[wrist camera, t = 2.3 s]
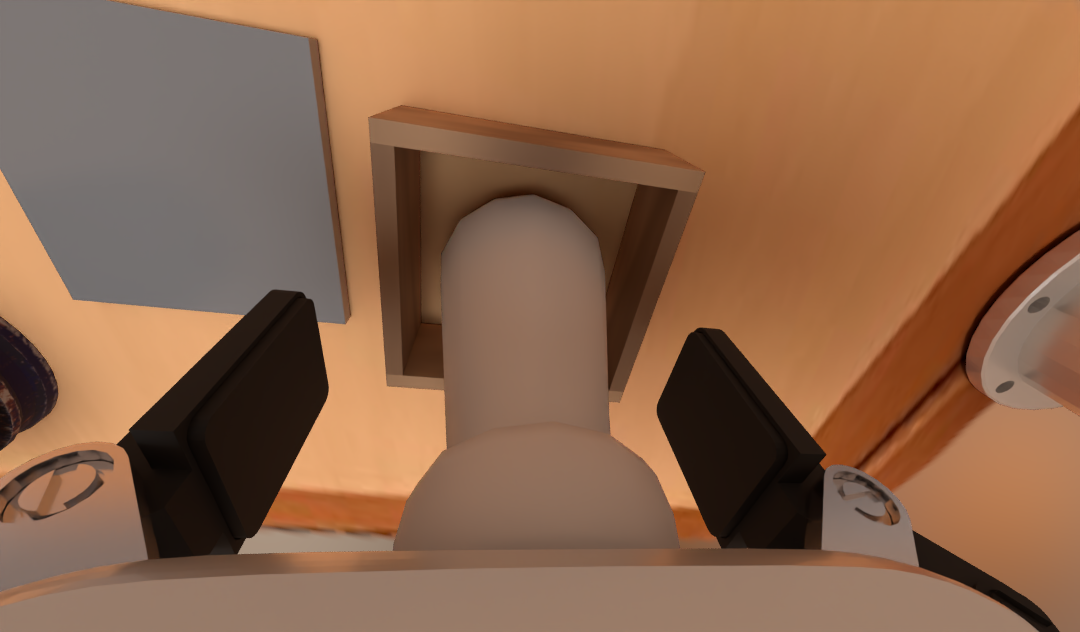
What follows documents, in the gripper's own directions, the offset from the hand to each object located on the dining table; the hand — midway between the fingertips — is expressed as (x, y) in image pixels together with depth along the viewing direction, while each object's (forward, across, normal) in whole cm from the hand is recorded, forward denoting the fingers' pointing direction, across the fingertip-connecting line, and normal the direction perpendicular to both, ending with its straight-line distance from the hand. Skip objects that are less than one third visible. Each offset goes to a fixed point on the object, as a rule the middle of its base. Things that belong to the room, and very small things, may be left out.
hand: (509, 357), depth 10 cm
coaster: (+7, +11, -1) cm, 13 cm away
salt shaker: (+7, -1, 0) cm, 7 cm away
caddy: (+7, -1, 0) cm, 7 cm away
